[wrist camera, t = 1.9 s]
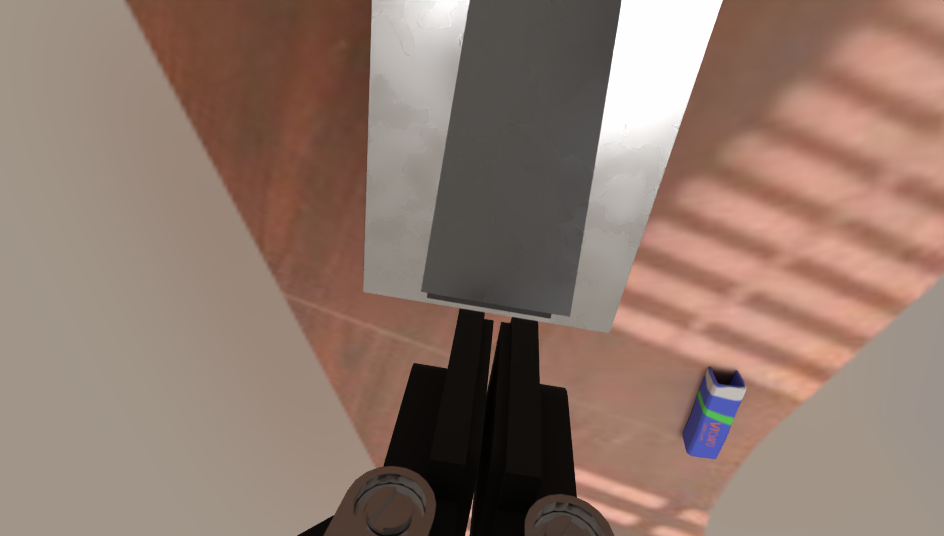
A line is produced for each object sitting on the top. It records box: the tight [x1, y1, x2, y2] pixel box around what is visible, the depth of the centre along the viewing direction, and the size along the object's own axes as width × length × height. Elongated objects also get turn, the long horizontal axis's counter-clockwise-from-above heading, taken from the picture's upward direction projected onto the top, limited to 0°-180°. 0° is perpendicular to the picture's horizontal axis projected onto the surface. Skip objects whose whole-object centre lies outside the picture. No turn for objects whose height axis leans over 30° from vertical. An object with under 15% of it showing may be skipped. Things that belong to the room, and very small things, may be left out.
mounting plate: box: [363, 0, 722, 333], centre depth 23 cm, size 22×14×5 cm, turn 173°
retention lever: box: [421, 0, 622, 317], centre depth 18 cm, size 16×5×1 cm
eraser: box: [683, 367, 747, 459], centre depth 33 cm, size 2×6×2 cm, turn 176°
